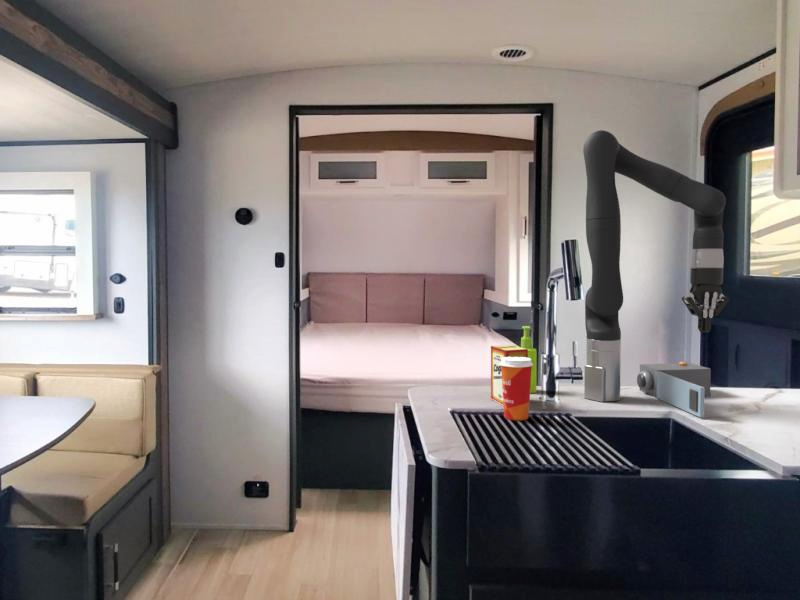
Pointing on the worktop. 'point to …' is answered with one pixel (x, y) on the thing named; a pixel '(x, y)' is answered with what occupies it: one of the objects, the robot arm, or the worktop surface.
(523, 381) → the coffee cup
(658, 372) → the side door
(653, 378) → the camera housing
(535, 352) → the soap dispenser
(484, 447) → the worktop surface
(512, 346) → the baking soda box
